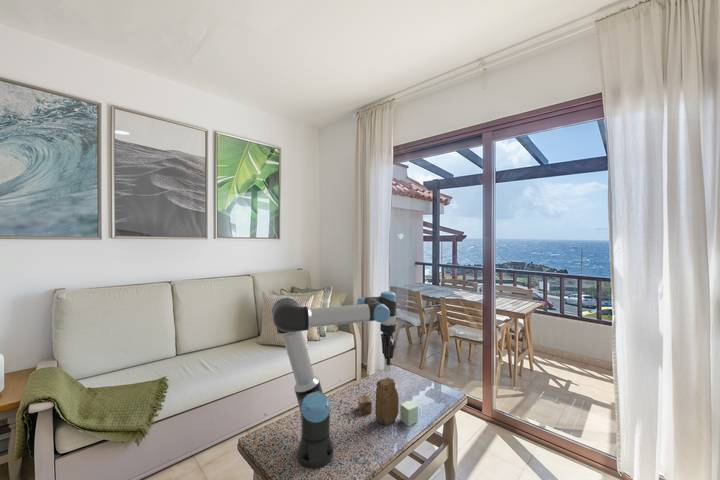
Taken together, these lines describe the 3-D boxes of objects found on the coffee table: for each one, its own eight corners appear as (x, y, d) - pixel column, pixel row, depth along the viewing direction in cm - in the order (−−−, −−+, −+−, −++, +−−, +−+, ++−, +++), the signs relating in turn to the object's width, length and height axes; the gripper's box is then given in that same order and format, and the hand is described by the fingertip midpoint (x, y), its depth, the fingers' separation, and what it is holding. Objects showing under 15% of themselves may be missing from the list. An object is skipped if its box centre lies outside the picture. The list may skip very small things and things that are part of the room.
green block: (408, 426, 146) (408, 410, 146) (400, 419, 151) (400, 404, 151) (417, 422, 149) (417, 406, 149) (409, 416, 154) (409, 400, 154)
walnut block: (359, 414, 155) (360, 402, 155) (358, 407, 161) (358, 396, 161) (371, 413, 156) (371, 401, 156) (369, 406, 162) (369, 395, 162)
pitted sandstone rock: (382, 427, 145) (382, 386, 144) (373, 419, 151) (374, 379, 151) (400, 420, 150) (400, 380, 150) (391, 412, 157) (391, 374, 156)
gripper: (400, 326, 145) (399, 375, 145) (389, 319, 157) (388, 364, 158) (386, 327, 142) (385, 377, 143) (376, 320, 155) (375, 365, 155)
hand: (387, 370), depth 150 cm, fingers closed
